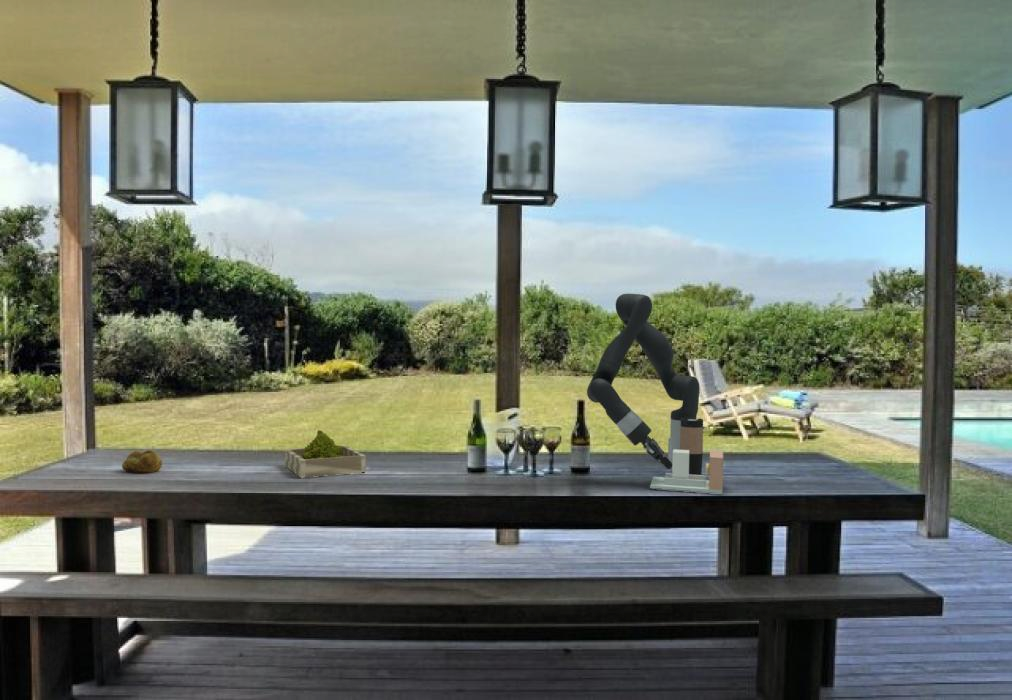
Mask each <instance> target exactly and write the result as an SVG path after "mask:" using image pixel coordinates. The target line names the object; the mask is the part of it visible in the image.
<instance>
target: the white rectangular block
mask: <svg viewBox="0 0 1012 700" xmlns="http://www.w3.org/2000/svg"><path fill="white" fill-rule="evenodd" d="M671 468H672V469H671V473H672V478H676V479H689V450H677V449H674V450H673V459H672V467H671Z"/></svg>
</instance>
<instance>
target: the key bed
mask: <svg viewBox="0 0 1012 700" xmlns="http://www.w3.org/2000/svg"><path fill="white" fill-rule="evenodd" d="M707 475H708V476H709V477H708V478H709V480H708V479H707ZM723 478H724V450H721V449H718V450H717V449H716V450H715V449H710V450H709V462H705V475H704V474H701V475H690V474H689V479H676V478H672V472H665V474H664V476H663V477H662V476H653V477H652V480H651V483H650V485H649V489H650V488H662V489H676V490H691V491H702V492H718V493H722V494H723V485H724V484H723V483H724V482H723V481H724V479H723Z"/></svg>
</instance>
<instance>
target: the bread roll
mask: <svg viewBox="0 0 1012 700" xmlns="http://www.w3.org/2000/svg"><path fill="white" fill-rule="evenodd" d="M121 465H122V466H121V468H122V470H124V471H126V472H128V473H136V474H150V473H149V472H152V473H155V471H156V472H158V471H159V470H160V469H161V468H162V466H163V460H162V458H161V456H160V455H159V454H157V453H156V452H155V451H154V450H146V451H144V452H142V451H137V450H136V451H133V452H131V453H130V454H128V455H127V457H126V460H124V461H123V462H122V464H121Z"/></svg>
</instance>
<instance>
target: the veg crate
mask: <svg viewBox="0 0 1012 700" xmlns="http://www.w3.org/2000/svg"><path fill="white" fill-rule="evenodd" d="M341 446H342V449H341V453H340V455H342V456H344V457H331V458H318V459H305V460H304V459H303V457H302V456H301V454H303V453H306V452H305V447H304V448H290V449H289V448H288V449H285V450H284V452H285V453H284V467H285V466H286V467H287V469H288V468H289V469H290V470H291V471H290V470H289V469H288V470H289V471H290V472H292V471H293V472H294V473H295V474H297V475H298V476H299V477H301V478H304V477H313V476H324V475H336V474H350V475H352V474H351V473H361V472H366V471H367V470H366V466H367V464H366V461H367V460H366V459H367V457H366V455H365V454H364V453H361V452H359V451H357V450H355V449H354V448H351V447H349V446H348V445H341ZM286 467H285V468H286ZM293 472H292V473H293ZM294 473H293V474H294ZM297 475H296V476H297ZM298 476H297V477H298ZM299 477H298V478H299ZM301 478H300V479H301ZM304 479H305V478H304Z"/></svg>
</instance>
